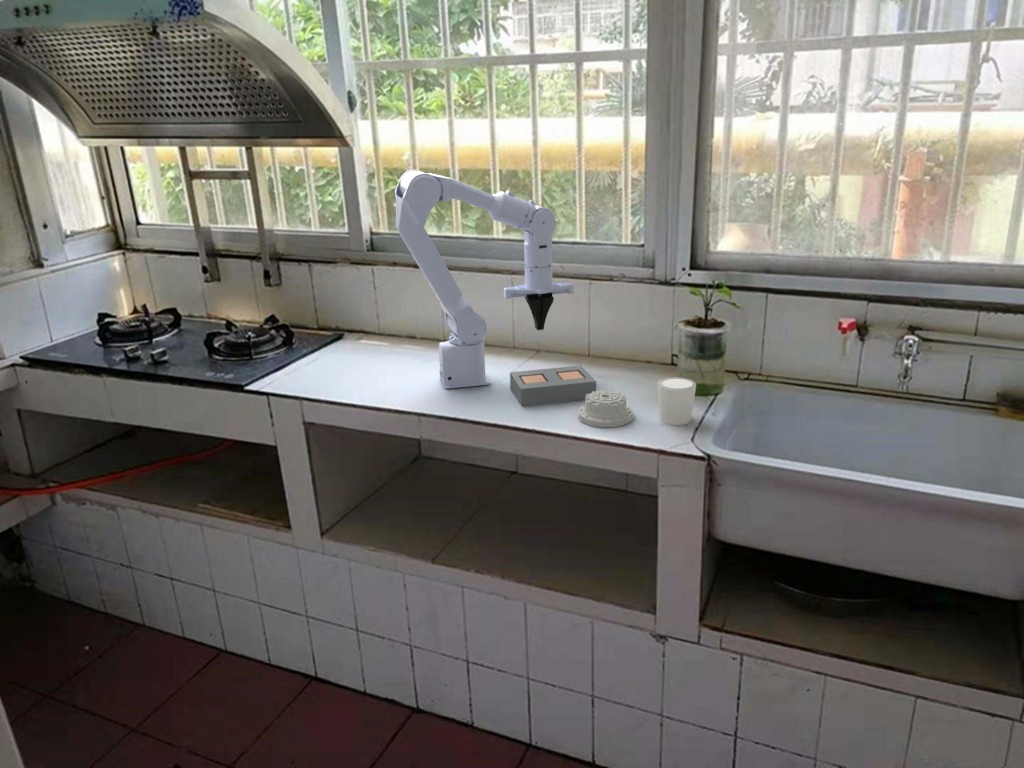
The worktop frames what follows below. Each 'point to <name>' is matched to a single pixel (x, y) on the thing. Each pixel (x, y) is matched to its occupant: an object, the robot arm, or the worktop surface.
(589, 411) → the mechanical component
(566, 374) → the button
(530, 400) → the switch block
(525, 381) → the button
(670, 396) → the white cup
